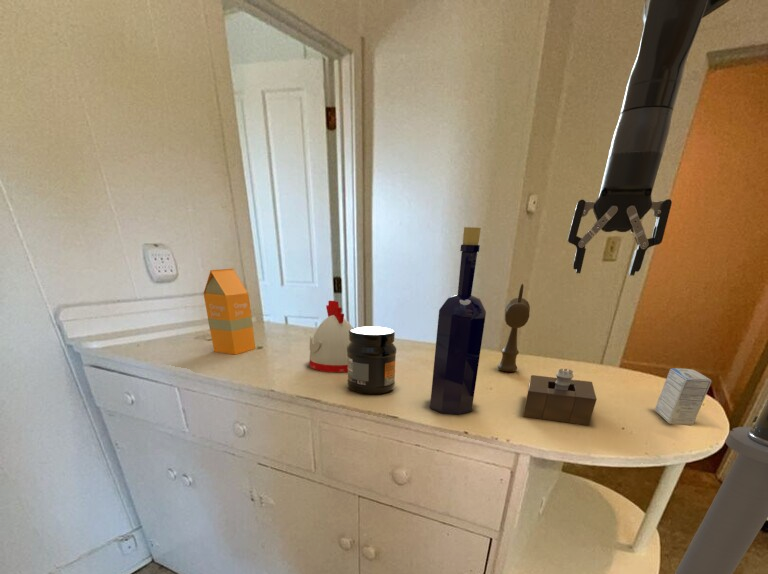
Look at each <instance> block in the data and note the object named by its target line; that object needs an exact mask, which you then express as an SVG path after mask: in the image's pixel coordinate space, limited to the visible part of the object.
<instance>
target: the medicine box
mask: <svg viewBox="0 0 768 574" xmlns="http://www.w3.org/2000/svg"><path fill="white" fill-rule="evenodd" d="M664 381H665V382H664V384H663V387H662V388H661V392H660V395H659V397H658V398H657V399H658V400H657V402H656V404H655V408H654V411H655V412H656V413H657V414H658V415H660V417H661V418H663V420H665V421H666V422H667V423H668V424H670V425H678V426H690V427H691V426H694V424H695V421H696V419H697V416H698V414H699V412H700V409H701V407H702V405H703V403H704V400H705V398H706V396H707V393H708V391H709V389H710V386H711V384H712V379H710V378H709V377H707V376H706V375H704V374H703V373H701V372H699V371H696V370H695V369H691V368H681V367H677V368H676V367H675V368H670V369H669V371H668V373H667V376H666V378H665V380H664Z"/></svg>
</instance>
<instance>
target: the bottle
mask: <svg viewBox="0 0 768 574" xmlns="http://www.w3.org/2000/svg"><path fill="white" fill-rule="evenodd" d="M481 229H482V228H481V227H472V226H471V227H470V226H467V227H466V226H464V227H463V235H462V244H460V252H461V255H460V264H459V265H460V266H459V276H458V285H457V286H458V287H457V294H453V295H450V296H448V297H447V298H446V300H444V302H443V303H442V304H441V306H440V307H439V309H438V317H437V318H438V319H437V329H436V338H435V339H436V340H435V351H434V360H433V371H432V381H431V391H430V404H429V407H428V408H429V409H431V410H433V411H435V412H438V413H439V414H446V415H457V416H459V415H460V416H461V415H464V414H469V413H472V412H473V405H474V399H475V398H474V397H475V392H476V384H477V378H478V371H479V364H480V358H481V349H482V342H483V337H484V329H485V322H486V314H487V311H486V308H485V306H484V304H483V302H482V300H481V298H480V297H477V296H475V295H473V294H472V292H473V286H474V279H475V273H476V265H477V259H478V253H480V247H481V245H480V244H479V242H480V235H481Z"/></svg>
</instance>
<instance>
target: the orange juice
mask: <svg viewBox="0 0 768 574" xmlns="http://www.w3.org/2000/svg"><path fill="white" fill-rule="evenodd" d="M204 287H205V288H204V290H203V293H202V294H203V299H204V304H205V309H206V315H207V323H208V327H209V331H210V332H209V333H210V338H211V343H212V348H213V352H216V353H222V354H228V355H234V356H235V355H239V354H243V353H245V352H246V353H247V352H250V351H253V350H255V349H256V341H255V335H254V333H255V332H254V324H253V316H252V310H251V304H250V296H249V295H250V294H249V292H248V290H247V289H246V287H245V285H244V284H243V282H242V281H241V278H240V277H239V276H238V274H237V272H236V271H235V268H223V269H222V268H221V269H211V270H209V273H208V277H207V281H206V284H205V286H204Z"/></svg>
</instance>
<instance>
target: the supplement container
mask: <svg viewBox="0 0 768 574" xmlns="http://www.w3.org/2000/svg"><path fill="white" fill-rule="evenodd" d="M395 334H396V332H395V330H393V329H391V328H388V327H384V326H383V327H382V326H357V327H353V328H352V329H350V330H349V340H350V343H349V345H348V346H347V361H348V372H347V386H348V388H349V389H350V390H352V391H353V392H356V393H359V394H364V395H382V394H385V393H389V392H390V391H392V390H393V389H394V387H395V385H396V381H395V379H396V378H395V377H396V358H397V357H396V355H397V346H396V345H395V344H394V342H395V339H396V338H395V336H396V335H395Z"/></svg>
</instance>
